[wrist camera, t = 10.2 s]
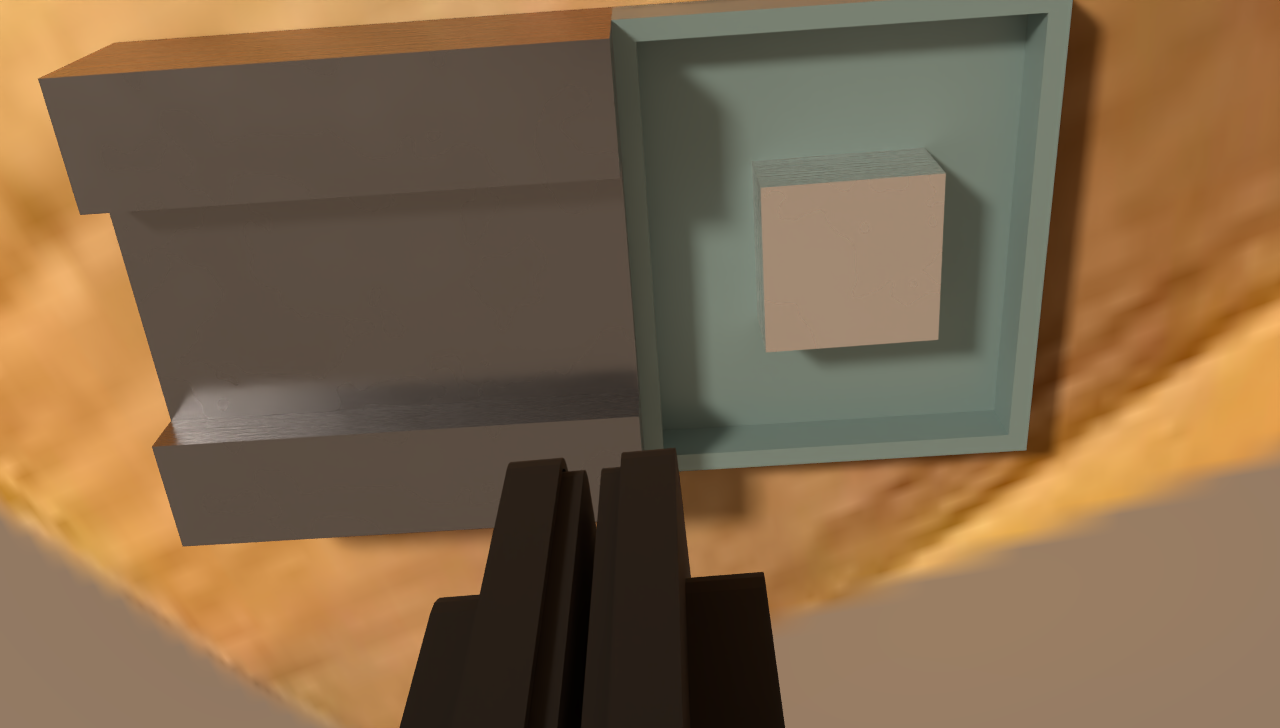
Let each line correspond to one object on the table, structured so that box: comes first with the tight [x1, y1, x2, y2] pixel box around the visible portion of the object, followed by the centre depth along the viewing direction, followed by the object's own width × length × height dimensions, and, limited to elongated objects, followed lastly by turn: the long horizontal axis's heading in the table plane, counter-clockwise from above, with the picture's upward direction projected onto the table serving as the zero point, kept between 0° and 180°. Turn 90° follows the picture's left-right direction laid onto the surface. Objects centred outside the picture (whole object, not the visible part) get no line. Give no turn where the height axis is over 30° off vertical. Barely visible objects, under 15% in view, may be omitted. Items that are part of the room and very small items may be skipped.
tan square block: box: [752, 148, 946, 352], centre depth 32 cm, size 5×5×2 cm
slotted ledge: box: [38, 7, 644, 546], centre depth 32 cm, size 14×14×4 cm
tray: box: [611, 0, 1073, 471], centre depth 33 cm, size 12×14×2 cm
